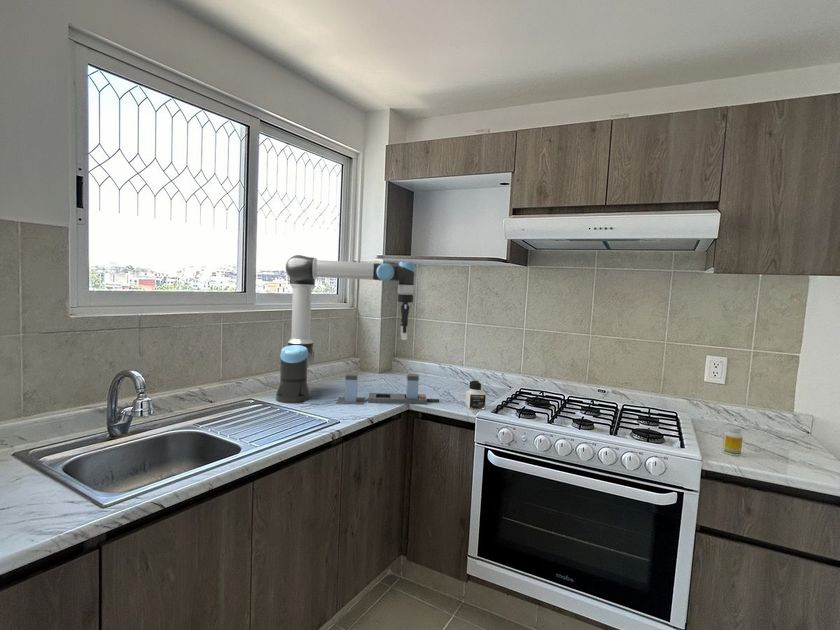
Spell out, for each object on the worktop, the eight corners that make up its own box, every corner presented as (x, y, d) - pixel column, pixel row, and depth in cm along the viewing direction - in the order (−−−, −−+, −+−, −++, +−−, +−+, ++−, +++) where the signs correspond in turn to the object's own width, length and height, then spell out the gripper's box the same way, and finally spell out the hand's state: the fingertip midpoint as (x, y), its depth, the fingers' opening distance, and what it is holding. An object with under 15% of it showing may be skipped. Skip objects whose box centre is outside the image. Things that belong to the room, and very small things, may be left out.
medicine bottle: (469, 409, 198) (471, 383, 197) (465, 405, 205) (466, 379, 204) (485, 409, 199) (486, 383, 198) (480, 405, 206) (481, 379, 205)
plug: (344, 401, 199) (345, 375, 198) (345, 399, 204) (346, 373, 203) (355, 402, 199) (356, 375, 198) (356, 399, 204) (357, 373, 203)
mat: (335, 404, 195) (335, 403, 195) (338, 397, 207) (338, 396, 207) (363, 405, 196) (363, 404, 196) (364, 398, 208) (364, 397, 208)
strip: (368, 405, 197) (368, 397, 197) (369, 399, 207) (369, 391, 207) (440, 407, 200) (440, 399, 199) (437, 401, 209) (438, 393, 209)
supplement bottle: (719, 449, 161) (721, 423, 160) (735, 451, 160) (738, 425, 159) (727, 455, 156) (729, 428, 155) (744, 457, 155) (746, 430, 154)
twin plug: (406, 402, 201) (407, 376, 200) (405, 399, 206) (407, 373, 205) (417, 402, 201) (418, 376, 200) (416, 399, 206) (418, 374, 205)
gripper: (414, 295, 203) (412, 341, 204) (412, 293, 228) (410, 335, 229) (398, 294, 202) (396, 340, 204) (397, 293, 227) (395, 334, 229)
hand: (403, 337), depth 217 cm, fingers open, 13 cm apart
